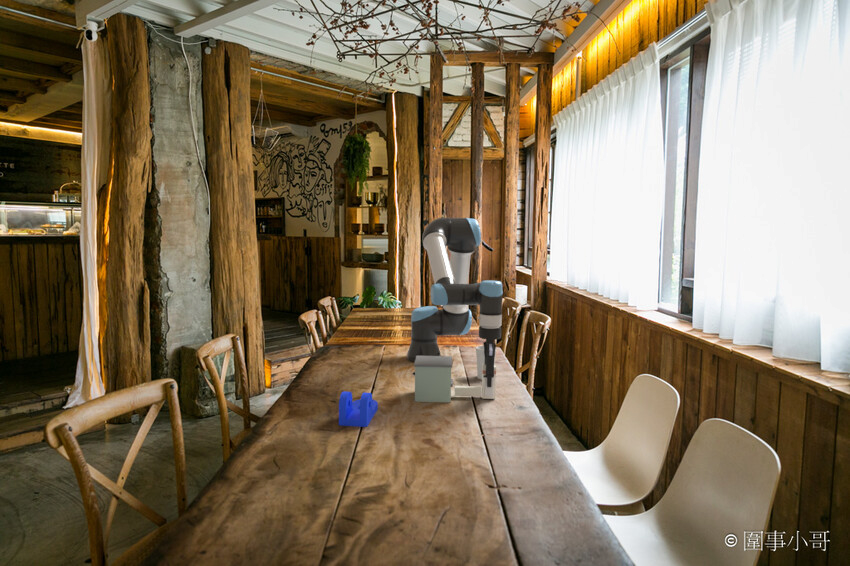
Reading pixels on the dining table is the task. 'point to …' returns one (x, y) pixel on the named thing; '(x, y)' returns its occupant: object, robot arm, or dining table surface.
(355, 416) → the bracket
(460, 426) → the dining table surface
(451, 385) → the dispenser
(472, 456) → the dining table surface
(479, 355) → the cup
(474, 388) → the pink striped cream block
